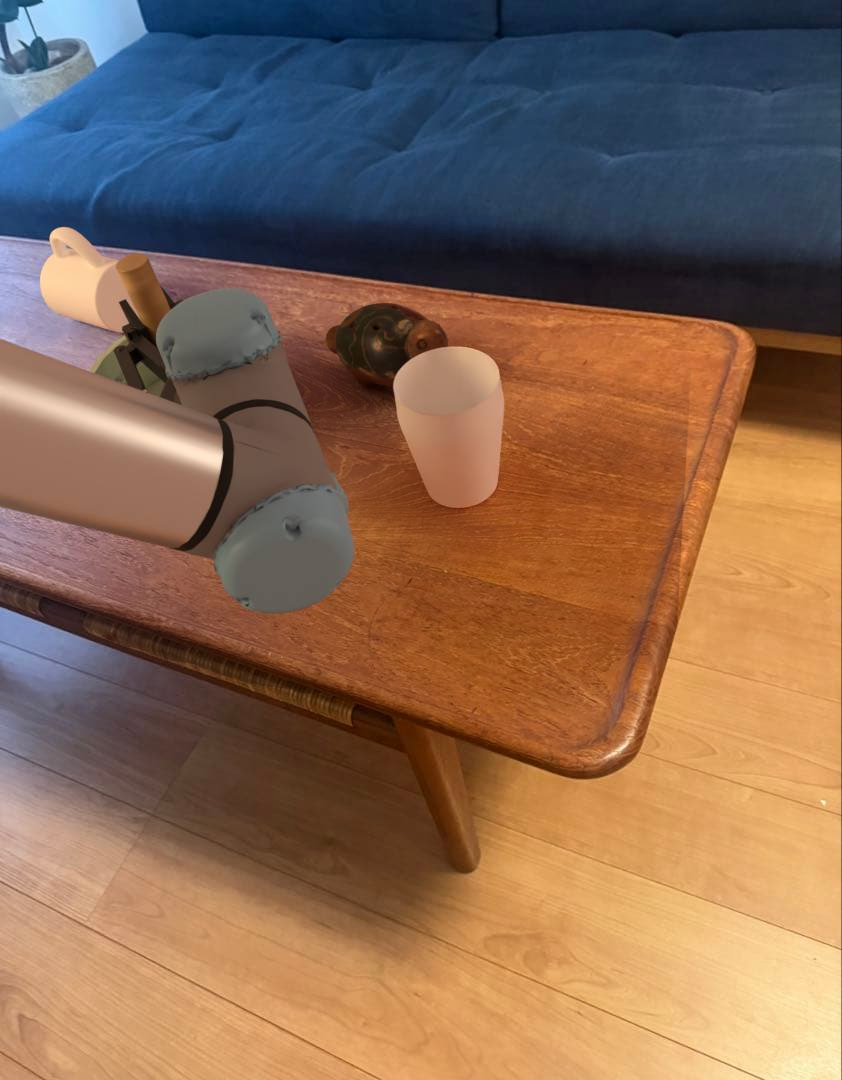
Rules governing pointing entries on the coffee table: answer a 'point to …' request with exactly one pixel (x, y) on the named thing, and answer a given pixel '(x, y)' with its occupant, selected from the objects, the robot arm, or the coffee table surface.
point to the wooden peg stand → (143, 291)
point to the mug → (83, 282)
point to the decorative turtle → (383, 341)
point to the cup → (452, 422)
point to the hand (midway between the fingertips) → (144, 304)
